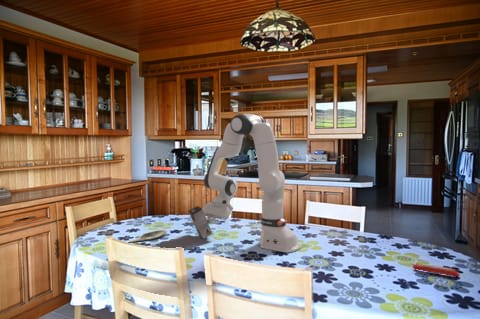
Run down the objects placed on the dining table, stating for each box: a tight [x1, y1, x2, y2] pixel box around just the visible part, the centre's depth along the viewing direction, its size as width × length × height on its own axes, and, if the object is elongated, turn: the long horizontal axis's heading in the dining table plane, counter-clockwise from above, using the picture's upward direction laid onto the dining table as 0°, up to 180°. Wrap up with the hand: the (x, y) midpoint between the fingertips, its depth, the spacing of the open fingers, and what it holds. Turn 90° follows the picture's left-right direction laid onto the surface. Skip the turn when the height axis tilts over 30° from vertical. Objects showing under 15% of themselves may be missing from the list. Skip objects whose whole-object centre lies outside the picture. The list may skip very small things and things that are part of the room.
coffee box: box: [188, 205, 214, 240], centre depth 179 cm, size 9×6×16 cm
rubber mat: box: [155, 234, 211, 251], centre depth 169 cm, size 18×22×1 cm
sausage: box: [412, 262, 460, 276], centre depth 129 cm, size 16×4×3 cm, turn 59°
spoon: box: [128, 229, 167, 244], centre depth 174 cm, size 35×11×2 cm, turn 139°
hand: (208, 223), depth 182 cm, fingers closed
